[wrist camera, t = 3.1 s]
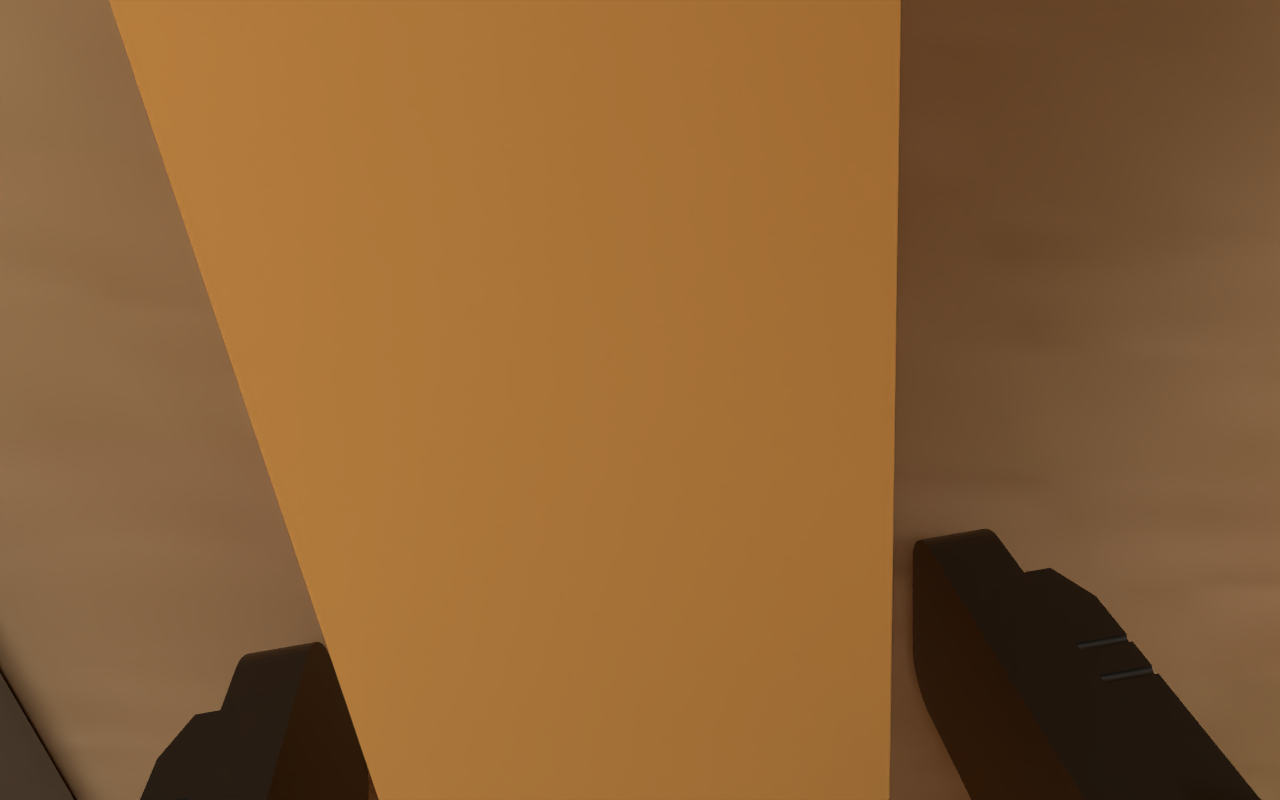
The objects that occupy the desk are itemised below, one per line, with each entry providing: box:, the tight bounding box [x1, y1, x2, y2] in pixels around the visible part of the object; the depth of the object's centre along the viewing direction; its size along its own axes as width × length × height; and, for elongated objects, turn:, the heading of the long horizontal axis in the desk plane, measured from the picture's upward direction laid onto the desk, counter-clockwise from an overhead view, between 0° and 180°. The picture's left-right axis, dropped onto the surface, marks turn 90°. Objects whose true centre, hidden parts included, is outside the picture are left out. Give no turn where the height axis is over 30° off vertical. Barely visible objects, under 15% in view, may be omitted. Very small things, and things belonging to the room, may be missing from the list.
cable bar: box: [109, 0, 901, 800], centre depth 10 cm, size 18×4×4 cm, turn 7°
